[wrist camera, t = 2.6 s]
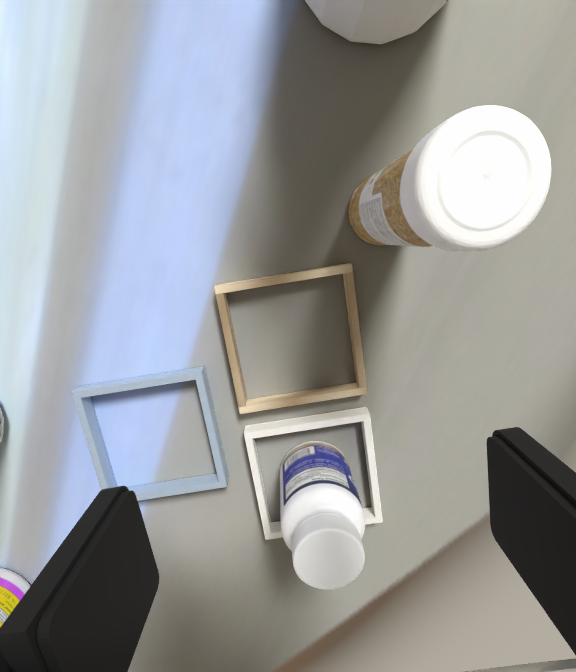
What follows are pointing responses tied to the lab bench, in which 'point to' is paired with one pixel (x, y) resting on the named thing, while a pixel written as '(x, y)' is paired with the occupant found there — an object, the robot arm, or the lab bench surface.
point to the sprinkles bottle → (458, 185)
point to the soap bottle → (374, 17)
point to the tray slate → (198, 374)
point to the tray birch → (299, 396)
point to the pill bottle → (321, 515)
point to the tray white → (307, 423)
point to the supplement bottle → (10, 592)
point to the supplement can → (1, 425)
